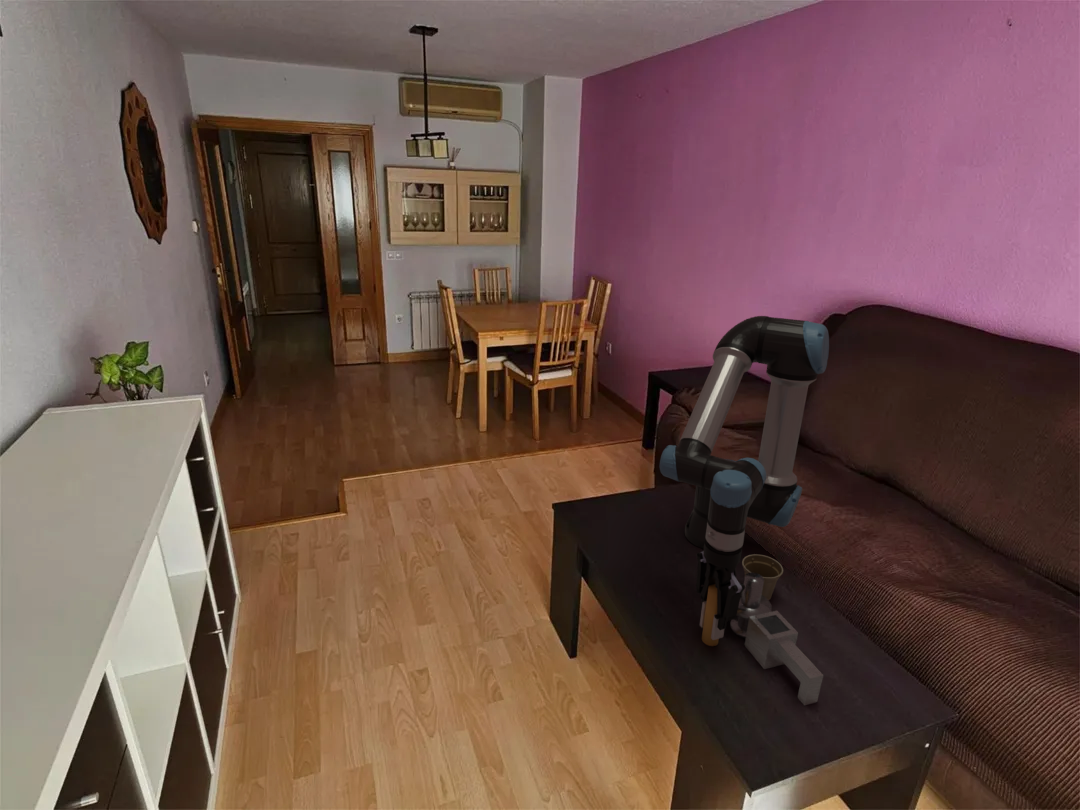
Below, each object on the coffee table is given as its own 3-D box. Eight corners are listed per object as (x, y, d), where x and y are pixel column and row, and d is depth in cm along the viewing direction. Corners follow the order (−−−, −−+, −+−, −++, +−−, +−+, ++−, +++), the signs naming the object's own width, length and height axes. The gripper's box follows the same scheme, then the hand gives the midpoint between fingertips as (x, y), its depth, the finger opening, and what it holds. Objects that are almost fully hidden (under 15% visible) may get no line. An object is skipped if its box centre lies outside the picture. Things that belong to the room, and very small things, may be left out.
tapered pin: (708, 631, 134) (715, 581, 128) (721, 641, 131) (729, 590, 126) (698, 638, 132) (704, 587, 126) (711, 648, 129) (718, 597, 124)
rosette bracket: (829, 698, 117) (843, 643, 111) (791, 709, 114) (803, 653, 109) (751, 611, 140) (759, 562, 135) (718, 618, 138) (725, 569, 132)
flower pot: (744, 577, 152) (749, 549, 148) (782, 591, 147) (787, 562, 143) (732, 597, 144) (737, 568, 141) (771, 612, 139) (777, 583, 136)
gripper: (685, 525, 128) (676, 611, 136) (734, 569, 113) (720, 662, 122) (714, 518, 130) (703, 603, 139) (765, 561, 116) (749, 652, 124)
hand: (711, 630), depth 130 cm, fingers closed on tapered pin, 3 cm apart
